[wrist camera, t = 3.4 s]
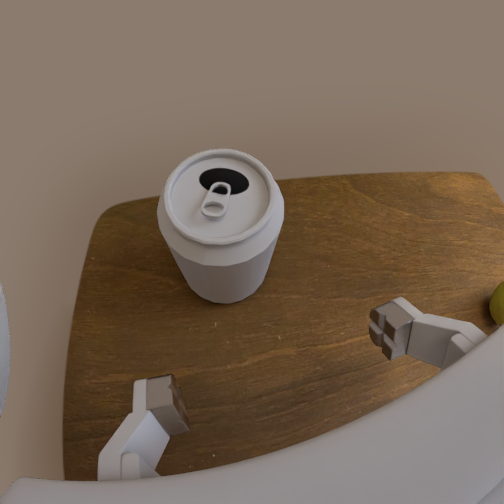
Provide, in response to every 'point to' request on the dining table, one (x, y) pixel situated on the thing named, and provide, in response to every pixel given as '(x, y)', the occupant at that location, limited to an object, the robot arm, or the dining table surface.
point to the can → (221, 222)
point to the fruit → (497, 304)
